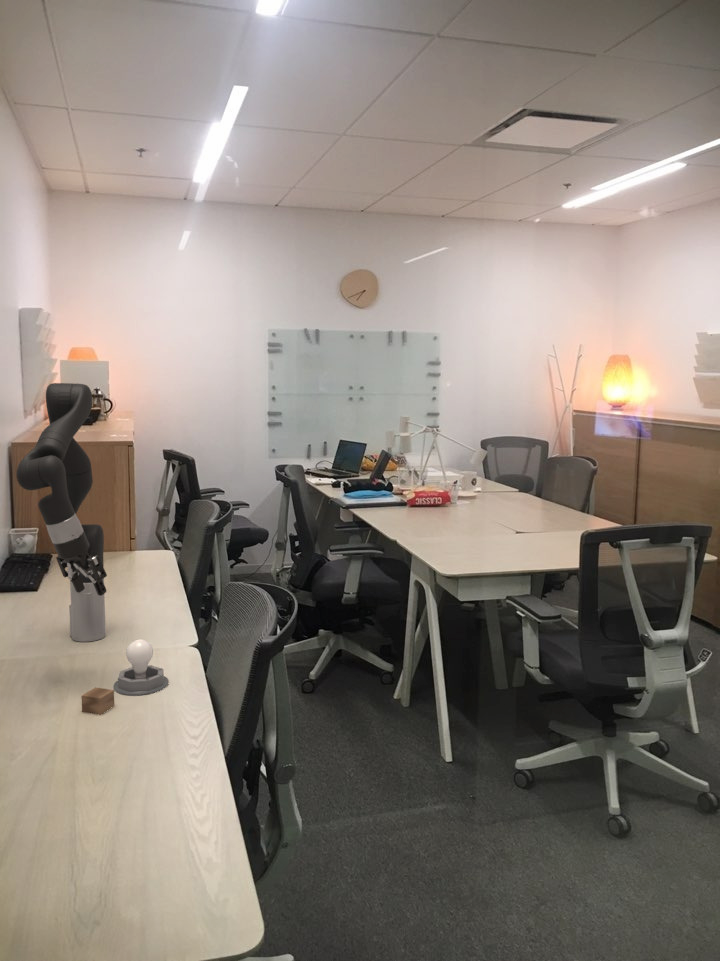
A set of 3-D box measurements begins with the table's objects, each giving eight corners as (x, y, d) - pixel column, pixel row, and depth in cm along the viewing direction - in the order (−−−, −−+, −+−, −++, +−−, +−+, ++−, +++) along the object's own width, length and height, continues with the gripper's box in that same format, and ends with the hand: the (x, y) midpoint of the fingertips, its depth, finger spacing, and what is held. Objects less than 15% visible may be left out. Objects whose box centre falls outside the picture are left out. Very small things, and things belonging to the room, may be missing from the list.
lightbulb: (159, 680, 191) (158, 637, 189) (144, 689, 185) (142, 645, 183) (137, 677, 193) (136, 634, 191) (121, 686, 187) (120, 642, 186)
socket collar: (102, 687, 187) (101, 675, 187) (144, 671, 198) (143, 660, 198) (138, 700, 180) (138, 687, 180) (179, 682, 191) (179, 670, 190)
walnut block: (82, 712, 173) (81, 695, 173) (96, 704, 178) (95, 687, 178) (100, 715, 172) (100, 698, 171) (114, 706, 176) (113, 690, 176)
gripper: (37, 541, 186) (62, 598, 192) (73, 544, 178) (98, 603, 184) (61, 526, 192) (85, 582, 198) (98, 528, 184) (121, 586, 190)
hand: (91, 592), depth 191 cm, fingers open, 8 cm apart
